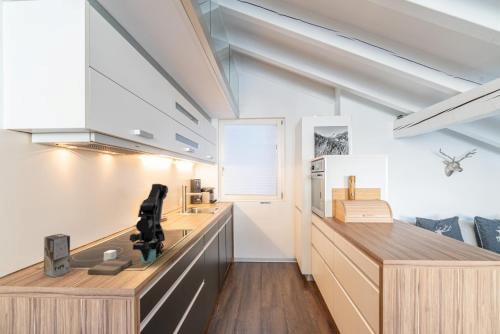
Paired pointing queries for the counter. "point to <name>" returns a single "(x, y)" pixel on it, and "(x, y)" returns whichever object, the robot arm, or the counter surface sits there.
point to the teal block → (151, 256)
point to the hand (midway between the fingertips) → (148, 258)
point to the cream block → (110, 254)
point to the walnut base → (109, 267)
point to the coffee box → (56, 255)
